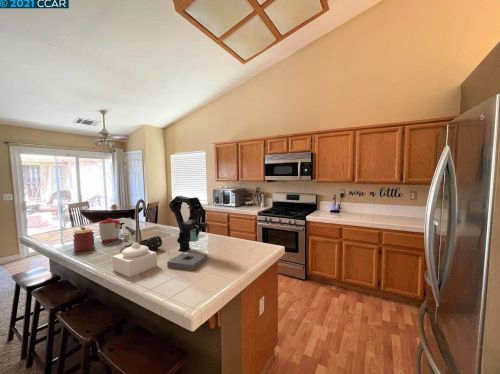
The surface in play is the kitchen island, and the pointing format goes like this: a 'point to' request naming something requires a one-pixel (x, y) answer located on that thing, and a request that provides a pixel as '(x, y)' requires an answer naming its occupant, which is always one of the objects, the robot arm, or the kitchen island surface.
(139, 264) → the butter dish
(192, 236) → the block
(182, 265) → the outlet plate
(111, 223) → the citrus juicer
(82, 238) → the canister
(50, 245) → the kitchen island surface
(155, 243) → the muzzle brake
